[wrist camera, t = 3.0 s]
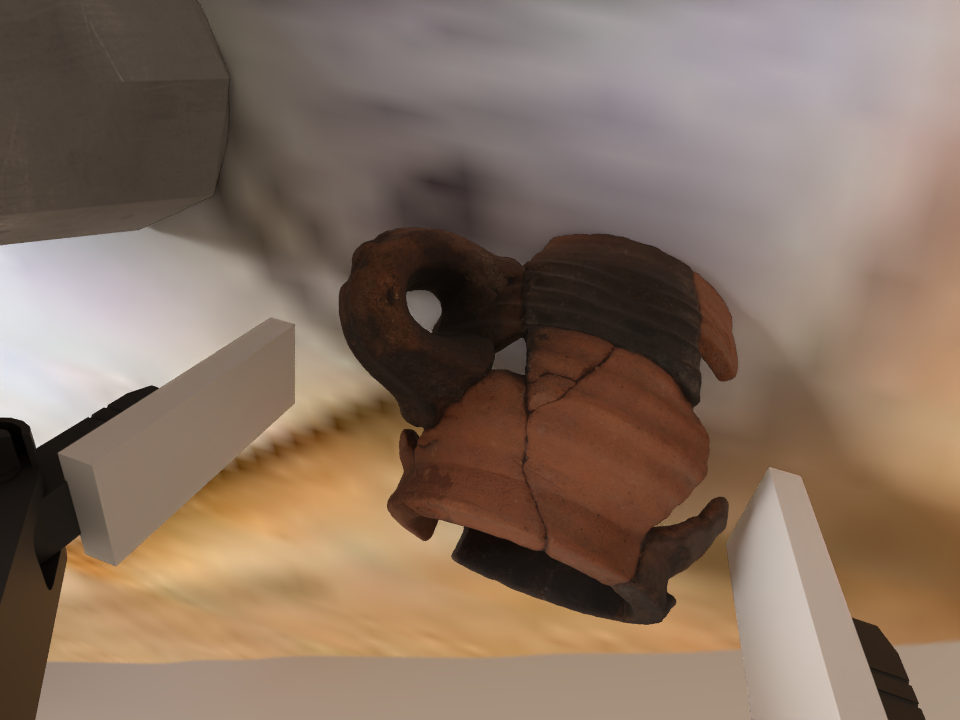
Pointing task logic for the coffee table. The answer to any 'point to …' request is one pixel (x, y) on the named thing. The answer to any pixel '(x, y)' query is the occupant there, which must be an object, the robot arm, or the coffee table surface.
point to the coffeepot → (106, 115)
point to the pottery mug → (548, 409)
